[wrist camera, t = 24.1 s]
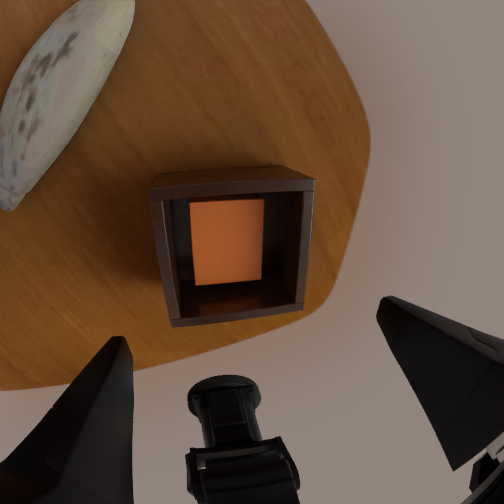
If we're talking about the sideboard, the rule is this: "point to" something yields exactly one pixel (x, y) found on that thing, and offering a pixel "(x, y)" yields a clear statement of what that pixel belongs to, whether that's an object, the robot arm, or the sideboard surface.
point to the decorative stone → (57, 90)
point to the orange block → (227, 237)
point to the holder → (273, 251)
